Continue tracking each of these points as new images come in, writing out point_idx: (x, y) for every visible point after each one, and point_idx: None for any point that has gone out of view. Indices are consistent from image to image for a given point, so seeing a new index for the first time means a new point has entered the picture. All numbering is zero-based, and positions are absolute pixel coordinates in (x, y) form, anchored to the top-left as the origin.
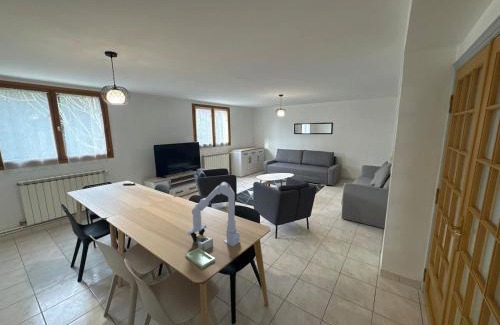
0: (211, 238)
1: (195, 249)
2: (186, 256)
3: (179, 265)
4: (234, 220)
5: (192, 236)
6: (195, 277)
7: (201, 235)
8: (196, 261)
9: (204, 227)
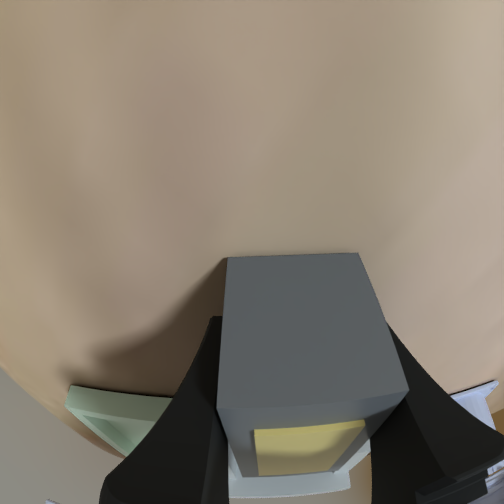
0: (336, 490)
1: (155, 422)
2: (72, 393)
3: (35, 393)
4: None
5: (181, 422)
6: (107, 450)
7: (334, 459)
8: (125, 454)
9: (490, 493)
